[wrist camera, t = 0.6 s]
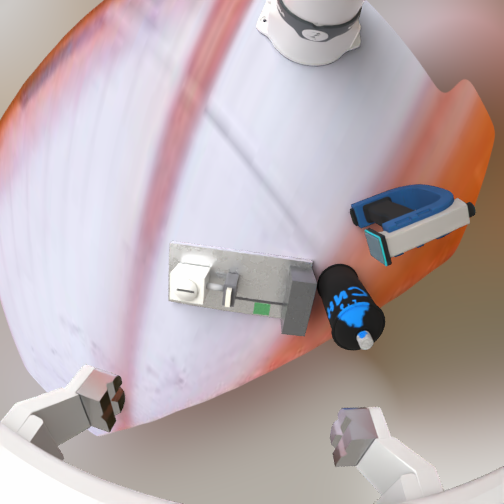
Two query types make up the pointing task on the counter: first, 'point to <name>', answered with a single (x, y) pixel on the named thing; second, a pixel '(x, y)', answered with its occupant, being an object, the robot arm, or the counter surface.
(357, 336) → the black water bottle
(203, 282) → the gauge body
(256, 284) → the base
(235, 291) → the block
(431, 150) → the counter surface
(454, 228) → the handheld scanner
